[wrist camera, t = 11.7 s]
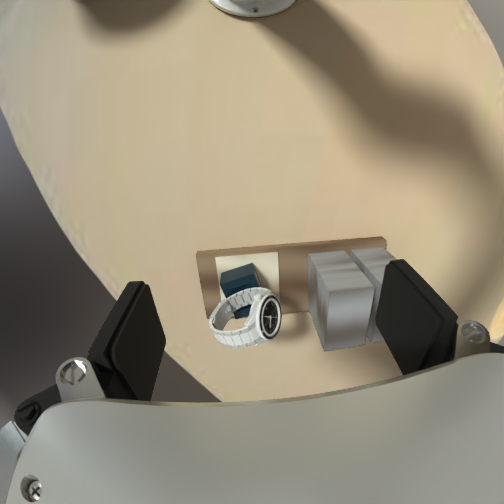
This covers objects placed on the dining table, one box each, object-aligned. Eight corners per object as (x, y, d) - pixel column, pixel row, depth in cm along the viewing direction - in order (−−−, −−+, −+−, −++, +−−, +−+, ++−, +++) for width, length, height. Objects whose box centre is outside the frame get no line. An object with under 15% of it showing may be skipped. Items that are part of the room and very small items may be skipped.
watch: (279, 292, 38) (291, 346, 27) (224, 309, 38) (219, 365, 28) (266, 257, 36) (276, 304, 25) (208, 276, 36) (197, 327, 26)
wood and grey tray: (197, 251, 37) (181, 296, 26) (381, 236, 37) (424, 271, 26) (208, 313, 41) (199, 368, 30) (374, 296, 41) (406, 340, 30)
